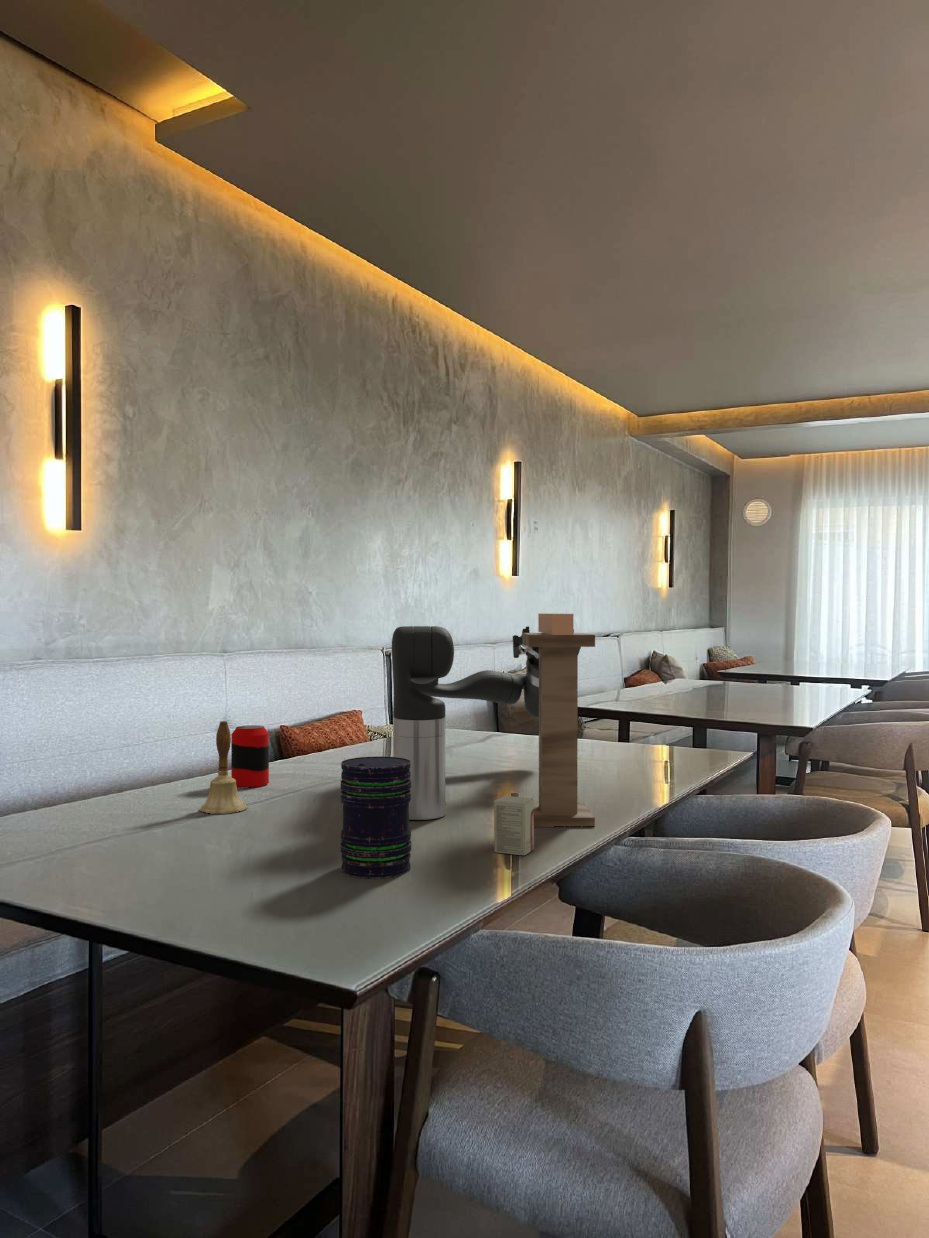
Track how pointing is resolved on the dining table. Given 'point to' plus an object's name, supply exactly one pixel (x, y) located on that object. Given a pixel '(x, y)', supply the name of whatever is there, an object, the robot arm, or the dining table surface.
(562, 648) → the wooden pedestal stand
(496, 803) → the small box
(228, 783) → the hand bell
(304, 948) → the dining table surface
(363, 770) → the storage jar
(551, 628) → the block
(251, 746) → the soda can
